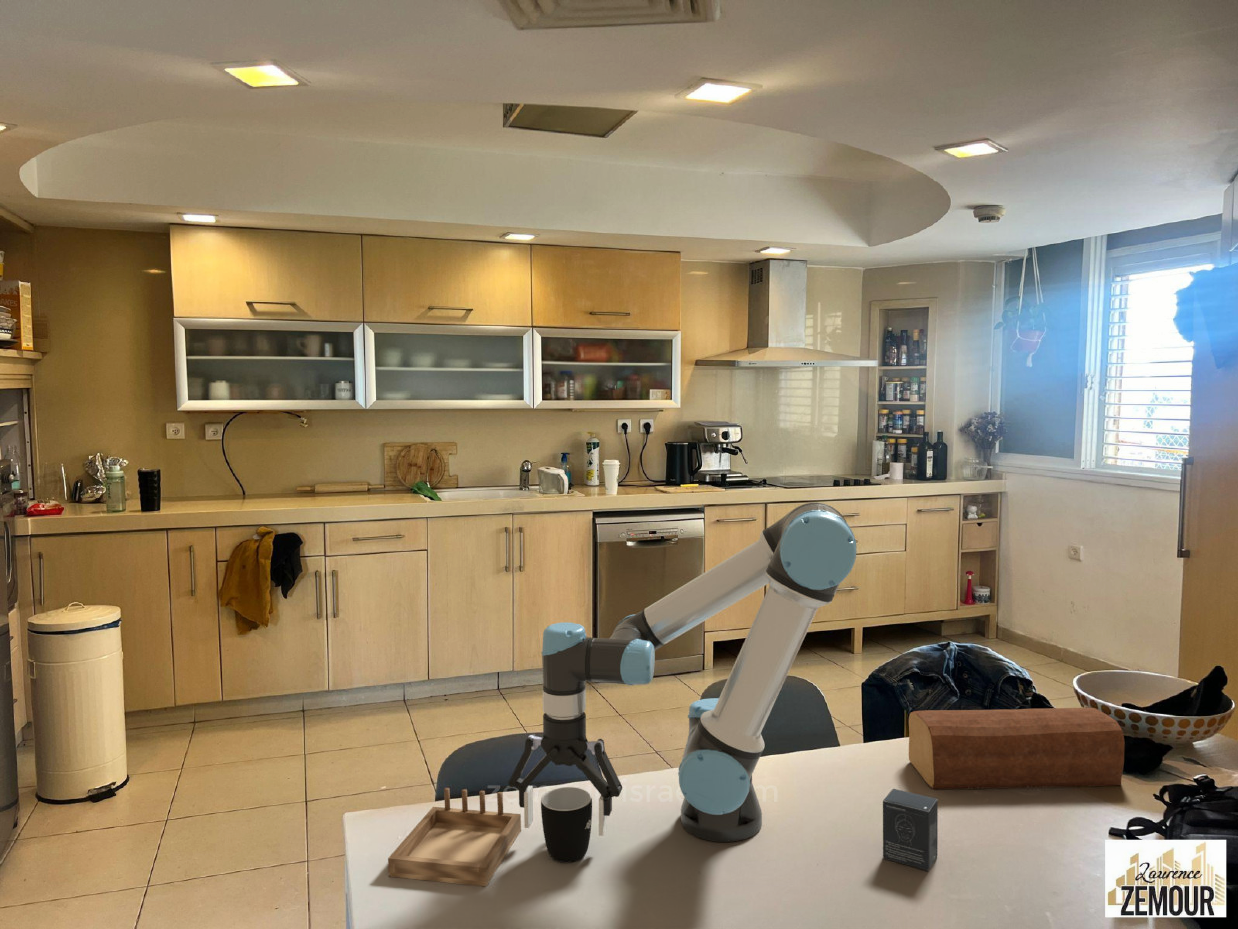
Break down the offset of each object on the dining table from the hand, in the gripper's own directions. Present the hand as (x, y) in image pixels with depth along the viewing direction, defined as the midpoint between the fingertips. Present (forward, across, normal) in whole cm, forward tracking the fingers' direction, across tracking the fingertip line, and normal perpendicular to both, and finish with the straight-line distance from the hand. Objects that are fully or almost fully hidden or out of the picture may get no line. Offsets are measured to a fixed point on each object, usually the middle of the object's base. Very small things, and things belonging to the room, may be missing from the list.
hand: (565, 828), depth 153 cm
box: (+3, -60, -7) cm, 60 cm away
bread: (+3, -84, -44) cm, 95 cm away
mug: (+4, 0, 0) cm, 4 cm away
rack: (+4, +18, +4) cm, 19 cm away
